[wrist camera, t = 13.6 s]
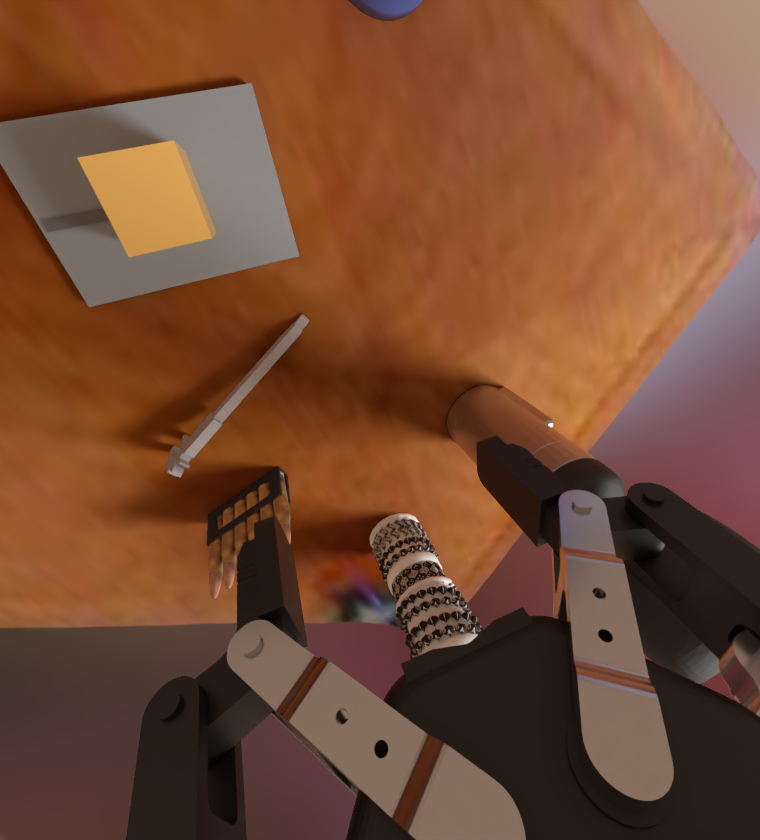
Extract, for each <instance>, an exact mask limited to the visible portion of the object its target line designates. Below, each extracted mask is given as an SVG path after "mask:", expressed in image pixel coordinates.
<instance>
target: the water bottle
mask: <svg viewBox="0 0 760 840" xmlns="http://www.w3.org/2000/svg"><path fill="white" fill-rule="evenodd" d="M350 1H351V3H353V4H354V5H355V6H356V7H357V8H358V9H359V10H360V11H361V12H363V13H365V14H367V15H368V16H370V17H372V18H375V19H379V20H382V21H394V20H397V19H400V18H403V17H405V16H406V15H408V14H409V13H411V12H412V11H414V10H415V9H416V7H417V6H418V5H419V4H420V3H421V2H422V1H423V0H350Z"/></svg>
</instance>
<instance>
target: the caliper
mask: <svg viewBox="0 0 760 840" xmlns="http://www.w3.org/2000/svg"><path fill="white" fill-rule="evenodd" d="M308 322H309V320H308V319H307V318H306V317H305V316H304V315H303V314H301V315H300V316H299V318H298V319H297V320H296V321H295V322H294V323H293V324H292V325H291V326H290V327H289V328H288V329H287V330H286V331H285V332H284V333H283V334H282V335H281V336H280V337H279V338H278V339H277V341H276V342H275V343H274V344H273V345H272V346H271V347H270V349H269V350H268V351H267V352H266V353H265V354H264V355H263V356H262V358H261V359H260V360H259V361H258V362H257V363H256V364H255V366H254V367H253V368H252V369H251V370H250V371H249V372H248V374H247V375H246V376H245V377H244V378H243V379H242V380H241V381H240V383H239V384H238V385H237V386H236V387H235V388H234V389H233V391H232V392H231V393H230V394H229V395H228V396H227V397H226V398H225V400H224V401H223V402H222V403H221V404H220V405H219V406H218V407H217V409H216V410H215V411H214V412H212V411H211V412H210V413H209V415H208V416H207V417H206V419H205V420H204V421H203V422H202V423H201V424H200V425H199V427H198V428H197V429H196V431H195V432H194V433H193V434H192V436H191V437H190V436H188V435H186V434H184V435H183V436H182V446H183V447H182V448H181V449H180V448H178V447H176V446H173V447H172V448H171V450H170V453H169V457H168V461H167V464H166V466H167V473H169V474H171V475H173V476H175V477H177V476H178V477H180V478H181V476H182V474H183V471H184V467H185V468H189V467H190V465H189V461H190V459H193V458H194V457H195V456H196V454H197V453H198V452H199V451H200V450H201V449H202V448H203V446H204V445H205V444H206V443H207V442H208V441H209V439H210V438H211V437H212V436H213V435H214V434H215V433H216V431H217V430H218V429H219V428H220V427H221V426H222V424H223V422H224V420H225V419H226V418H227V417H228V416H229V415H230V414H231V412H232V411H233V410H234V409H235V408H236V407H237V406H238V405H239V403H240V402H241V401H242V400H243V399H244V398H245V397H246V395H247V394H248V393H249V392H250V391H251V390H252V389H253V387H254V386H255V385H256V384H257V383H258V382H259V381H260V380H261V378H262V377H263V376H264V375H265V374H266V373H267V372H268V370H269V369H270V368H271V367H272V366H273V365H274V364H275V363H276V361H277V360H278V359H279V358H280V357H281V356H282V355H283V353H284V352H285V351H286V350H287V349H288V348H289V347H290V345H291V344H292V343H293V342H294V341H295V340H296V339H297V337H298V336H299V335H300V334H301V333H302V332H303V331H302V330H303V328H304V327H305V326H306V325H307V324H308Z"/></svg>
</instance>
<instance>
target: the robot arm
mask: <svg viewBox="0 0 760 840" xmlns="http://www.w3.org/2000/svg"><path fill="white" fill-rule="evenodd" d="M447 428H448V432H449V434H450V436H451V437H452V438H453V439H454V440H455V442H456V443H457V444H458V445H459V446H460V447H461V448H462V449H463V450H464V451H465V453H466V454H467V455H468V456H469V457H470V458H471V459H472V460H473V461H474V462H475V464H476V465H477V472H478V476H479V478H480V481H481V482H482V484H483V485H484V487H485V488H486V489H487V490H488V491H489V492H490V494H491V495H492V496H493V497H494V498H495V499H496V500H497V502H498V503H499V504H500V505H501V506H502V507H503V509H504V510H505V511H506V512H507V513H508V514H509V515H510V517H511V518H512V519H513V520H514V521H515V522H516V523H517V525H518V526H519V527H520V528H521V529H522V530H523V532H524V533H525V534H526V535H527V536H528V537H529V538H530V539H531V541H532V542H533V543H534V544H535V545H536V546H537V547H539V546H541V545H543V544H546V543H548V544H549V545H550V546H551V547H552V567H553V568H552V570H553V591H554V611H553V617H547V616H529V615H528V614H527V613H526V611H525V610H524V608H520V609H518V610H516V611H514V612H512V613H509V614H507V615H505V616H503V617H501V618H499V619H496V620H494V621H493V622H492V623H491V624H490V625H489V626H488V627H487V628H485V629H484V630H483V631H482V632H481V633H480V634H479V635H478V636H477V637H475V638H474V639H473V640H472V641H471V642H470V643H468V644H464V645H457V646H451V647H444V648H438V649H432V650H430V651H428V652H426V653H423V654H421V655H419V656H417V657H415V658H413V659H411V660H409V661H406V662H404V663H402V664H401V666H402V669H403V672H404V675H402V676H401V677H400V678H399V679H398V680H397V681H396V682H395V683H394V685H393V686H392V687H391V689H390V690H389V691H388V693H387V694H386V696H385V698H384V700H383V701H382V700H381V699H380V698H378V697H377V696H376V695H374V694H373V693H371V692H370V691H369V690H368V689H366V688H365V687H364V686H362V685H361V684H359V683H358V682H357V681H355V680H354V679H353V678H351V677H350V676H349V675H347V674H346V673H345V672H343V671H342V670H341V669H339V668H338V667H337V666H335V665H334V664H333V663H331V662H330V661H328V660H327V659H325V658H323V657H320V658H317V657H315V656H314V655H312V654H311V653H310V652H309V651H307V650H306V649H305V647H307V646H308V645H307V639H306V633H305V626H304V620H303V614H302V607H301V601H300V594H299V588H298V582H297V575H296V569H295V562H294V557H293V553H292V549H291V546H290V544H289V541H288V539H287V537H286V535H285V533H284V531H283V529H282V527H281V525H280V523H279V521H278V519H277V517H276V516H275V515H274V516H272V517H269V518H266V519H263V520H261V521H258V522H255V523H254V539H252V540H250V541H247V542H244V543H243V545H242V547H241V550H240V552H239V554H238V557H237V571H238V573H237V582H238V585H237V631H236V634H235V635H234V637H233V639H232V640H231V642H230V644H229V647H228V650H227V652H226V653H225V654H224V655H223V656H222V657H221V658H220V660H218V661H217V662H216V663H215V664H213V665H212V666H211V667H209V668H208V669H207V670H206V671H204V672H203V673H202V674H200V675H199V676H198V677H197V678H195V679H193V678H191V677H187V676H182V677H178V678H175V679H173V680H171V681H169V682H168V683H166V684H165V685H164V686H163V687H161V688H160V689H159V690H158V691H157V693H156V694H155V695H154V696H153V698H152V699H151V700H150V702H149V704H148V706H147V708H146V710H145V712H144V716H143V719H142V725H141V733H140V740H139V747H138V755H137V762H136V771H135V777H134V785H133V792H132V801H131V807H130V815H129V823H128V830H127V837H126V840H247V835H246V818H245V800H244V782H243V765H242V748H241V739H243V738H244V737H245V736H246V735H247V734H248V733H249V732H250V731H251V730H253V729H254V728H255V727H256V726H257V725H258V724H259V723H260V722H261V721H262V720H263V719H265V718H266V717H267V716H268V715H269V714H270V713H272V714H273V715H274V716H275V717H276V718H277V719H278V720H279V721H280V722H281V723H282V724H283V725H284V726H285V727H286V728H287V729H288V730H289V731H290V732H291V733H292V734H294V735H295V736H296V737H297V738H298V739H299V740H300V741H301V742H302V743H303V744H304V745H305V746H306V747H307V748H308V749H309V750H310V751H311V752H312V753H313V754H314V755H315V756H316V757H317V758H318V759H319V760H320V761H321V762H322V763H323V764H324V765H325V766H326V767H327V768H328V769H329V770H330V771H331V772H332V773H333V774H334V775H335V776H336V777H337V778H338V779H339V780H340V781H341V782H342V783H343V784H344V785H345V786H347V788H348V789H349V790H351V791H352V792H353V793H354V794H355V795H356V796H357V797H356V801H355V805H354V809H353V813H352V817H351V821H350V825H349V829H348V833H347V837H346V840H760V549H759V548H758V547H756V546H755V545H754V544H752V543H751V542H749V541H748V540H747V539H745V538H744V537H742V536H741V535H739V534H738V533H736V532H735V531H733V530H732V529H730V528H729V527H727V526H725V525H724V524H722V523H721V522H719V521H717V520H715V519H714V518H712V517H710V516H709V515H707V514H705V513H702V512H701V511H698V510H697V509H696V508H694V507H693V506H691V505H690V504H689V503H687V502H686V501H685V500H683V499H682V498H680V497H679V496H677V495H676V494H675V493H673V492H672V491H670V490H669V489H667V488H665V487H663V486H660V485H657V484H653V483H638V484H635V485H633V486H631V487H630V488H629V490H628V494H627V496H624V486H623V483H622V481H621V479H620V478H619V477H618V475H617V474H616V473H615V472H613V471H612V470H611V469H610V468H608V467H607V466H605V465H604V464H603V463H601V462H600V461H598V460H597V459H595V458H594V457H592V456H591V455H590V454H589V453H587V452H586V451H584V450H583V449H582V448H580V447H579V446H577V445H576V444H574V443H573V442H572V441H570V440H569V439H567V438H566V437H565V436H563V435H562V434H560V433H559V432H558V431H556V430H555V429H553V420H552V419H551V418H549V417H548V416H547V415H545V414H544V413H542V412H541V411H539V410H538V409H536V408H535V407H533V406H532V405H531V404H529V403H528V402H526V401H525V400H523V399H522V398H520V397H519V396H517V395H516V394H515V393H513V392H512V391H510V390H509V389H507V388H506V387H502V388H496V387H493V386H489V385H482V386H477V387H474V388H472V389H470V390H468V391H466V392H465V393H464V394H462V395H461V396H460V397H459V398H458V399H457V400H456V401H455V403H454V404H453V406H452V407H451V410H450V412H449V414H448V419H447ZM644 654H645V655H646V656H647V657H648V658H649V659H650V660H651V661H650V660H648V659H645V657H644ZM719 672H721V675H722V677H723V679H724V680H725V682H726V683H727V685H728V686H729V690H730V692H731V694H732V695H733V697H734V698H735V699H736V700H738V701H739V702H740V703H737V702H736V701H734V700H732V699H730V698H728V697H726V696H724V695H722V694H719V693H718V692H715V691H713V690H711V689H709V688H707V687H705V686H703V685H701V683H703V682H705V681H707V680H708V679H710V678H712V677H713V676H714V675H716V674H717V673H719Z"/></svg>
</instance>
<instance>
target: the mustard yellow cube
mask: <svg viewBox="0 0 760 840" xmlns="http://www.w3.org/2000/svg"><path fill="white" fill-rule="evenodd" d="M77 159H78V161H79V163H80V165H81V166H82V168H83V170H84V172H85V174H86V176H87V178H88V180H89V182H90V184H91V186H92V188H93V189H94V191H95V193H96V195H97V197H98V199H99V201H100V203H101V205H102V207H103V209H104V211H105V213H106V214H107V216H108V218H109V220H110V222H111V224H112V226H113V228H114V230H115V232H116V234H117V236H118V237H119V239H120V241H121V243H122V245H123V247H124V249H125V251H126V253H127V255H128V257H133V256H138V255H142V254H146V253H151V252H155V251H159V250H164V249H168V248H172V247H177V246H181V245H185V244H190V243H194V242H199V241H203V240H207V239H212V238H213V237H214V235H215V234H216V230H215V228H214V225H213V223H212V220H211V217H210V215H209V212H208V209H207V207H206V204H205V202H204V199H203V196H202V194H201V191H200V189H199V186H198V183H197V181H196V178H195V176H194V173H193V170H192V168H191V165H190V163H189V160H188V157H187V155H186V152H185V151H184V150H183V149H182V148H181V147H180V146H179V145H178V144H177V143H176V142H175V141H174V140H173V141H167V142H162V143H156V144H151V145H145V146H139V147H134V148H128V149H123V150H117V151H112V152H106V153H101V154H95V155H90V156H84V157H79V158H77Z"/></svg>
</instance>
